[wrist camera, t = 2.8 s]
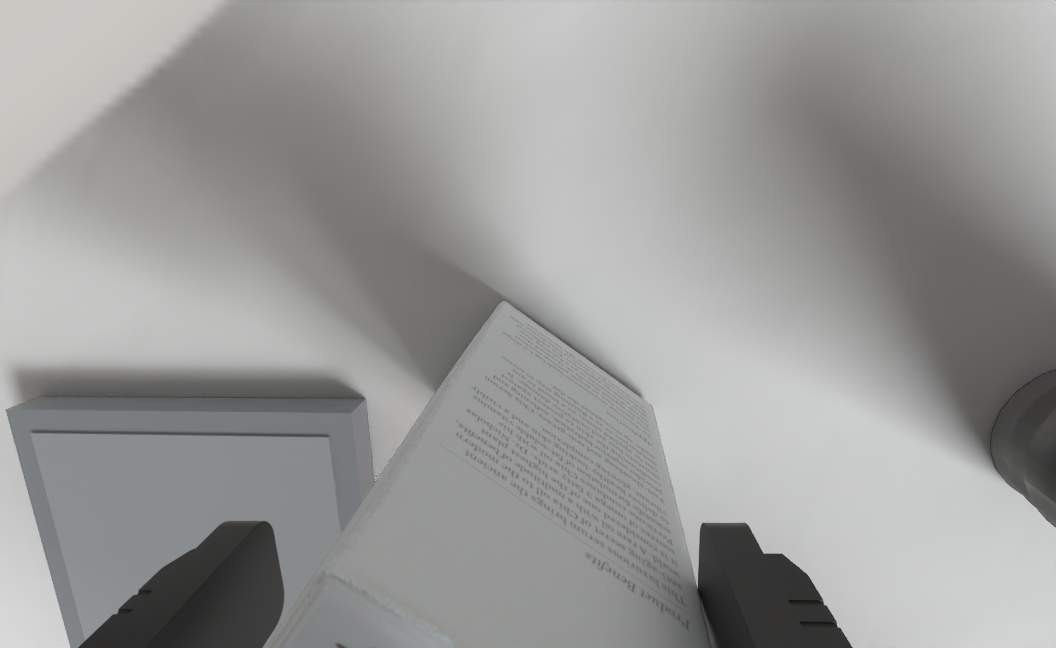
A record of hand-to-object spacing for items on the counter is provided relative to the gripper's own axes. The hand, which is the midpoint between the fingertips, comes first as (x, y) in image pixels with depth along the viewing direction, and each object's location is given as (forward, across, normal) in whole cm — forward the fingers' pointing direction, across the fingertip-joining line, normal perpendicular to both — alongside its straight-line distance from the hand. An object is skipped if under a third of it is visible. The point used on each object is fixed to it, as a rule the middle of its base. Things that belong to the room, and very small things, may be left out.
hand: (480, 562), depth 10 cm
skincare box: (+8, -1, 0) cm, 8 cm away
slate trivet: (+8, +11, +6) cm, 15 cm away
